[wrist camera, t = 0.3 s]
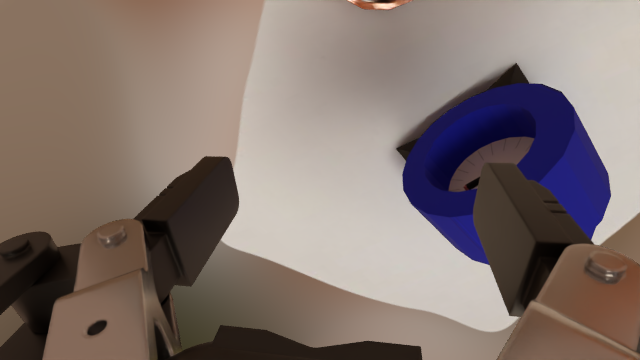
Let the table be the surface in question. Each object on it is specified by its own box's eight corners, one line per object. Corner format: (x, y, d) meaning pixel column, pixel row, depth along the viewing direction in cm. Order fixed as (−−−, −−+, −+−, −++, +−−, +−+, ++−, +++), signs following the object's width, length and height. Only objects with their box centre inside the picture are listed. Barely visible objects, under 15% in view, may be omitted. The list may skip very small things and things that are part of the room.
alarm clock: (512, 56, 27) (635, 116, 14) (579, 161, 31) (726, 284, 18) (391, 143, 32) (401, 243, 20) (459, 224, 36) (507, 354, 23)
